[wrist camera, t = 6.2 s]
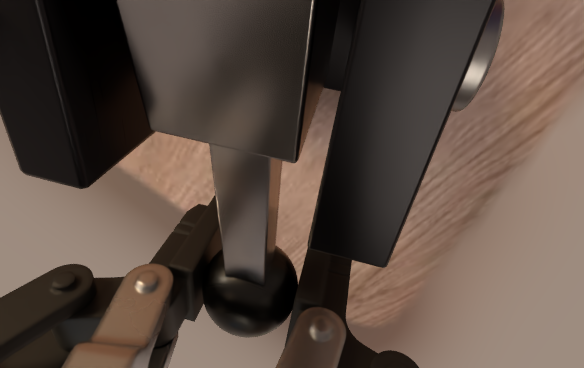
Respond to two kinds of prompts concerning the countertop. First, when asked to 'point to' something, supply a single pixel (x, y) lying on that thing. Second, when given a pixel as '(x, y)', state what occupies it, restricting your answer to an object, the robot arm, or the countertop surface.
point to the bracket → (341, 76)
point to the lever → (236, 125)
